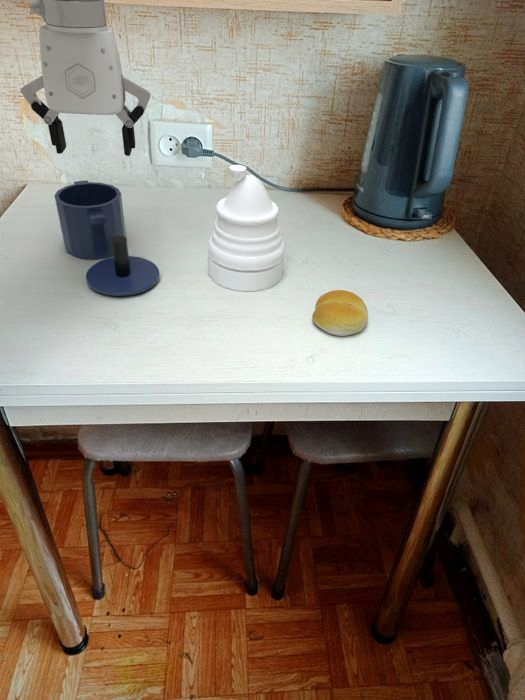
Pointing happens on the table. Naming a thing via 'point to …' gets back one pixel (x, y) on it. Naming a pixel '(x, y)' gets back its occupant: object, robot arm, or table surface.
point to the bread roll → (340, 313)
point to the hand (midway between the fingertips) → (95, 151)
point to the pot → (90, 218)
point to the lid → (122, 272)
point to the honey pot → (246, 237)
